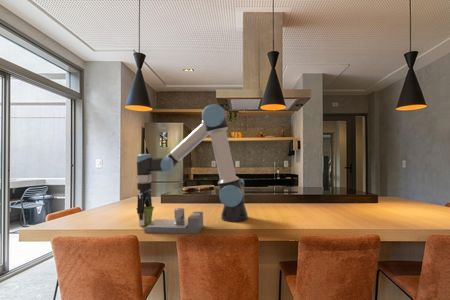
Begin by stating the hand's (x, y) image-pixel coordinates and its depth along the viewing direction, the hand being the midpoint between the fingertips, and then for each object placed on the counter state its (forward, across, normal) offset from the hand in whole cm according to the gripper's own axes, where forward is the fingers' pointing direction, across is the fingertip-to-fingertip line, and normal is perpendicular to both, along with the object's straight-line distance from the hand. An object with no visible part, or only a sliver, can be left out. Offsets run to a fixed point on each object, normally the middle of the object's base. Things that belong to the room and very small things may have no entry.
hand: (145, 223), depth 172 cm
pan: (-2, +10, +17) cm, 20 cm away
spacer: (-3, +10, +22) cm, 24 cm away
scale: (0, +10, +20) cm, 22 cm away
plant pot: (0, 0, 0) cm, 0 cm away
